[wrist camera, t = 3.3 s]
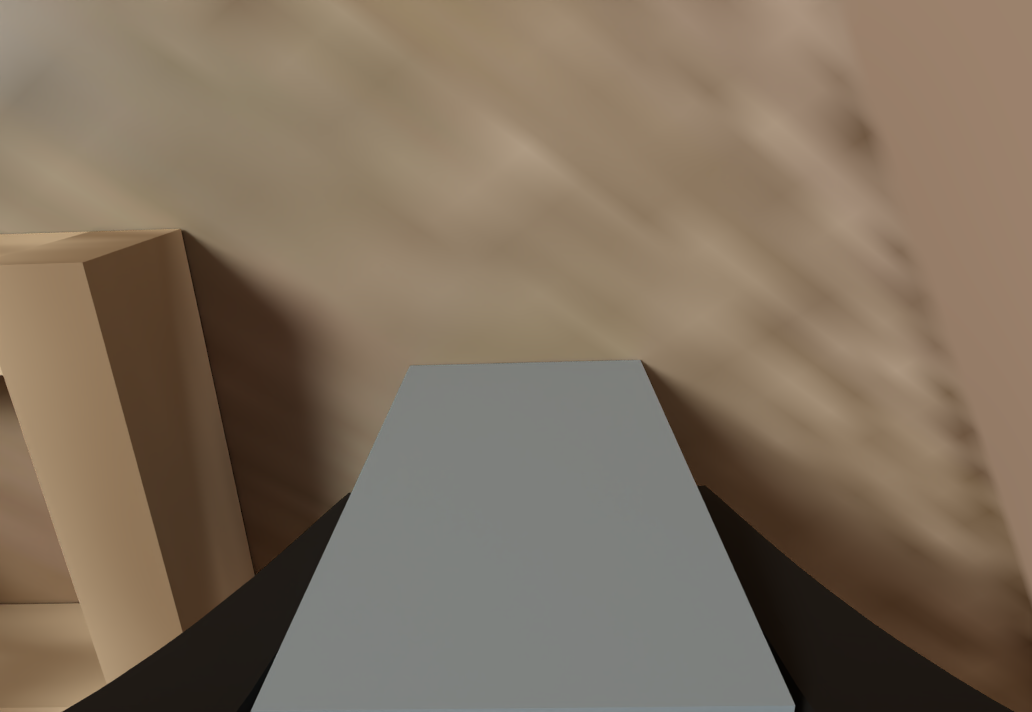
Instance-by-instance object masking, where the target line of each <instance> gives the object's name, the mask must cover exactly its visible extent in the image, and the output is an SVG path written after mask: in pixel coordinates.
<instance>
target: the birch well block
mask: <svg viewBox="0 0 1032 712" xmlns="http://www.w3.org/2000/svg"><path fill="white" fill-rule="evenodd" d="M0 375H3V376H4V379H5V382H6V385H7V388H8V391H9V394H10V397H11V400H12V403H13V406H14V409H15V412H16V415H17V418H18V421H19V424H20V427H21V430H22V433H23V436H24V439H25V442H26V445H27V448H28V451H29V454H30V457H31V460H32V463H33V466H34V469H35V472H36V475H37V478H38V481H39V484H40V487H41V490H42V493H43V496H44V499H45V502H46V505H47V508H48V511H49V513H50V516H51V519H52V522H53V525H54V528H55V531H56V534H57V537H58V540H59V543H60V546H61V549H62V552H63V555H64V558H65V561H66V564H67V567H68V570H69V573H70V576H71V579H72V582H73V585H74V588H75V591H76V594H77V597H78V600H79V603H62V604H0V712H62V711H64V710H66V709H67V708H69V707H71V706H72V705H74V704H76V703H78V702H79V701H81V700H83V699H84V698H86V697H88V696H89V695H91V694H93V693H94V692H96V691H98V690H99V689H101V688H102V687H104V686H105V685H107V684H108V683H110V682H112V681H113V680H115V679H116V678H118V677H119V676H121V675H122V674H124V673H125V672H127V671H128V670H129V669H131V668H132V667H134V666H135V665H137V664H138V663H140V662H141V661H143V660H144V659H146V658H147V657H149V656H150V655H152V654H153V653H155V652H156V651H158V650H159V649H160V648H162V647H163V646H165V645H166V644H167V643H169V642H170V641H172V640H173V639H174V638H176V637H177V636H179V635H180V634H181V633H183V632H184V631H185V630H187V629H188V628H189V627H191V626H192V625H193V624H195V623H196V622H197V621H199V620H200V619H201V618H202V617H204V616H205V615H206V614H207V613H209V612H210V611H211V610H212V609H214V608H215V607H216V606H217V605H219V604H220V603H221V602H222V601H224V600H225V599H226V598H227V597H229V596H230V595H231V594H233V593H234V592H235V591H236V590H238V589H239V588H240V587H241V586H243V585H244V584H245V583H246V582H248V581H249V580H250V579H251V578H253V577H254V576H255V574H254V570H253V565H252V560H251V556H250V551H249V546H248V542H247V537H246V532H245V528H244V523H243V518H242V514H241V509H240V504H239V499H238V495H237V490H236V485H235V481H234V476H233V471H232V467H231V462H230V457H229V453H228V448H227V443H226V439H225V434H224V429H223V425H222V420H221V415H220V411H219V406H218V401H217V396H216V392H215V387H214V382H213V378H212V373H211V368H210V364H209V359H208V354H207V350H206V345H205V340H204V336H203V331H202V326H201V322H200V317H199V312H198V307H197V303H196V298H195V293H194V289H193V284H192V279H191V275H190V270H189V265H188V261H187V256H186V251H185V247H184V242H183V237H182V233H181V229H158V230H126V231H94V232H62V233H31V234H0Z"/></svg>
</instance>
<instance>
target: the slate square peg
mask: <svg viewBox="0 0 1032 712" xmlns="http://www.w3.org/2000/svg"><path fill="white" fill-rule="evenodd" d="M794 711H795V704H794V702H793V699H792V697H791V695H790V693H789V690H788V688H787V686H786V684H785V681H784V679H783V677H782V675H781V673H780V670H779V668H778V666H777V664H776V661H775V659H774V657H773V655H772V653H771V650H770V648H769V646H768V644H767V641H766V639H765V637H764V635H763V632H762V630H761V628H760V626H759V624H758V621H757V619H756V617H755V615H754V612H753V610H752V608H751V606H750V603H749V601H748V599H747V597H746V595H745V592H744V590H743V588H742V586H741V583H740V581H739V579H738V577H737V574H736V572H735V570H734V568H733V566H732V563H731V561H730V559H729V557H728V554H727V552H726V550H725V548H724V545H723V543H722V541H721V539H720V537H719V534H718V532H717V530H716V528H715V525H714V523H713V521H712V519H711V516H710V514H709V512H708V510H707V508H706V505H705V503H704V501H703V499H702V496H701V494H700V492H699V490H698V487H697V485H696V483H695V481H694V479H693V476H692V474H691V472H690V470H689V467H688V465H687V463H686V461H685V459H684V456H683V454H682V452H681V450H680V447H679V445H678V443H677V441H676V438H675V436H674V434H673V432H672V430H671V427H670V425H669V423H668V421H667V418H666V416H665V414H664V412H663V409H662V407H661V405H660V403H659V401H658V398H657V396H656V394H655V392H654V389H653V387H652V385H651V383H650V380H649V378H648V376H647V374H646V372H645V369H644V367H643V365H642V363H641V360H616V361H576V362H536V363H496V364H457V365H417V366H410V367H409V369H408V371H407V373H406V375H405V378H404V380H403V382H402V384H401V386H400V388H399V391H398V393H397V395H396V397H395V399H394V401H393V404H392V406H391V408H390V410H389V412H388V414H387V417H386V419H385V421H384V423H383V425H382V427H381V430H380V432H379V434H378V436H377V438H376V440H375V443H374V445H373V447H372V449H371V451H370V453H369V456H368V458H367V460H366V462H365V464H364V466H363V469H362V471H361V473H360V475H359V477H358V479H357V482H356V484H355V486H354V488H353V490H352V492H351V495H350V497H349V499H348V501H347V503H346V505H345V508H344V510H343V512H342V514H341V516H340V519H339V521H338V523H337V525H336V527H335V529H334V532H333V534H332V536H331V538H330V540H329V542H328V545H327V547H326V549H325V551H324V553H323V555H322V558H321V560H320V562H319V564H318V566H317V568H316V571H315V573H314V575H313V577H312V579H311V581H310V584H309V586H308V588H307V590H306V592H305V594H304V597H303V599H302V601H301V603H300V605H299V607H298V610H297V612H296V614H295V616H294V618H293V620H292V623H291V625H290V627H289V629H288V631H287V633H286V636H285V638H284V640H283V642H282V644H281V646H280V649H279V651H278V653H277V655H276V657H275V659H274V662H273V664H272V666H271V668H270V670H269V672H268V675H267V677H266V679H265V681H264V683H263V685H262V688H261V690H260V692H259V694H258V696H257V698H256V701H255V703H254V705H253V707H252V709H251V712H794Z"/></svg>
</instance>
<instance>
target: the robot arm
mask: <svg viewBox="0 0 1032 712" xmlns="http://www.w3.org/2000/svg"><path fill="white" fill-rule="evenodd" d="M697 487H698V490H699V492H700V494H701V496H702V499H703V501H704V503H705V505H706V508H707V510H708V512H709V514H710V516H711V519H712V521H713V523H714V525H715V528H716V530H717V532H718V534H719V537H720V539H721V541H722V543H723V545H724V548H725V550H726V552H727V554H728V557H729V559H730V561H731V563H732V566H733V568H734V570H735V572H736V574H737V577H738V579H739V581H740V583H741V586H742V588H743V590H744V592H745V595H746V597H747V599H748V601H749V603H750V606H751V608H752V610H753V612H754V615H755V617H756V619H757V621H758V624H759V626H760V628H761V630H762V632H763V635H764V637H765V639H766V641H767V644H768V646H769V648H770V650H771V653H772V655H773V657H774V659H775V661H776V664H777V666H778V668H779V670H780V673H781V675H782V677H783V679H784V681H785V684H786V686H787V688H788V690H789V693H790V695H791V697H792V699H793V702H794V704H795V711H794V712H1014V711H1012V710H1010V709H1008V708H1007V707H1005V706H1003V705H1001V704H999V703H998V702H996V701H994V700H992V699H991V698H989V697H987V696H986V695H984V694H982V693H981V692H979V691H977V690H976V689H974V688H972V687H971V686H969V685H967V684H966V683H964V682H962V681H961V680H959V679H957V678H956V677H954V676H952V675H951V674H949V673H948V672H946V671H945V670H943V669H942V668H940V667H938V666H937V665H935V664H934V663H932V662H931V661H929V660H928V659H926V658H924V657H923V656H921V655H920V654H918V653H917V652H915V651H914V650H912V649H911V648H909V647H907V646H906V645H904V644H903V643H901V642H900V641H898V640H897V639H895V638H894V637H892V636H891V635H889V634H888V633H886V632H885V631H884V630H882V629H881V628H879V627H878V626H876V625H875V624H874V623H872V622H871V621H869V620H868V619H867V618H865V617H864V616H863V615H861V614H860V613H858V612H857V611H856V610H854V609H853V608H852V607H850V606H849V605H848V604H846V603H845V602H844V601H842V600H841V599H840V598H838V597H837V596H836V595H834V594H833V593H832V592H830V591H829V590H828V589H826V588H825V587H824V586H822V585H821V584H820V583H819V582H817V581H816V580H815V579H814V578H812V577H811V576H810V575H808V574H807V573H806V572H805V571H804V570H802V569H801V568H800V567H799V566H797V565H796V564H795V563H794V562H792V561H791V560H790V559H789V558H788V557H786V556H785V555H784V554H783V553H782V552H780V551H779V550H778V549H777V548H776V547H775V546H773V545H772V544H771V543H770V542H769V541H768V540H766V539H765V538H764V537H763V536H762V535H761V534H759V533H758V532H757V531H756V530H755V529H754V528H753V527H752V526H750V525H749V524H748V523H747V522H746V521H745V520H744V519H742V518H741V517H740V516H739V515H738V514H737V513H736V512H735V511H733V510H732V509H731V508H730V507H729V506H728V505H727V504H726V503H725V502H723V501H722V500H721V499H720V498H719V497H718V496H717V495H715V494H714V493H713V492H712V491H711V490H710V489H708V488H707V487H706V486H697ZM350 495H351V493H348V494H347V495H346V496H345V497H343V498H342V499H341V500H340V501H339V502H338V503H336V504H335V505H334V506H333V507H332V508H331V509H330V510H329V511H327V512H326V513H325V514H324V515H323V516H322V517H321V518H320V519H319V520H318V521H316V522H315V523H314V524H313V525H312V526H311V527H310V528H309V529H308V530H306V531H305V532H304V533H303V534H302V535H301V536H300V537H299V538H298V539H296V540H295V541H294V542H293V543H292V544H291V545H290V546H288V547H287V548H286V549H285V550H284V551H283V552H282V553H280V554H279V555H278V556H277V557H276V558H275V559H274V560H272V561H271V562H270V563H269V564H268V565H267V566H266V567H264V568H263V569H262V570H261V571H260V572H259V573H257V574H256V575H255V576H254V577H253V578H251V579H250V580H249V581H248V582H246V583H245V584H244V585H243V586H241V587H240V588H239V589H238V590H236V591H235V592H234V593H233V594H231V595H230V596H229V597H227V598H226V599H225V600H224V601H222V602H221V603H220V604H219V605H217V606H216V607H215V608H214V609H212V610H211V611H210V612H209V613H207V614H206V615H205V616H204V617H202V618H201V619H200V620H199V621H197V622H196V623H195V624H193V625H192V626H191V627H189V628H188V629H187V630H185V631H184V632H183V633H181V634H180V635H179V636H177V637H176V638H174V639H173V640H172V641H170V642H169V643H167V644H166V645H165V646H163V647H162V648H160V649H159V650H158V651H156V652H155V653H153V654H152V655H150V656H149V657H147V658H146V659H144V660H143V661H141V662H140V663H138V664H137V665H135V666H134V667H132V668H131V669H129V670H128V671H127V672H125V673H124V674H122V675H121V676H119V677H118V678H116V679H115V680H113V681H112V682H110V683H108V684H107V685H105V686H104V687H102V688H101V689H99V690H98V691H96V692H94V693H93V694H91V695H89V696H88V697H86V698H84V699H83V700H81V701H79V702H78V703H76V704H74V705H72V706H71V707H69V708H67V709H66V710H64V711H62V712H251V709H252V707H253V705H254V703H255V701H256V698H257V696H258V694H259V692H260V690H261V688H262V685H263V683H264V681H265V679H266V677H267V675H268V672H269V670H270V668H271V666H272V664H273V662H274V659H275V657H276V655H277V653H278V651H279V649H280V646H281V644H282V642H283V640H284V638H285V636H286V633H287V631H288V629H289V627H290V625H291V623H292V620H293V618H294V616H295V614H296V612H297V610H298V607H299V605H300V603H301V601H302V599H303V597H304V594H305V592H306V590H307V588H308V586H309V584H310V581H311V579H312V577H313V575H314V573H315V571H316V568H317V566H318V564H319V562H320V560H321V558H322V555H323V553H324V551H325V549H326V547H327V545H328V542H329V540H330V538H331V536H332V534H333V532H334V529H335V527H336V525H337V523H338V521H339V519H340V516H341V514H342V512H343V510H344V508H345V505H346V503H347V501H348V499H349V497H350Z"/></svg>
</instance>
